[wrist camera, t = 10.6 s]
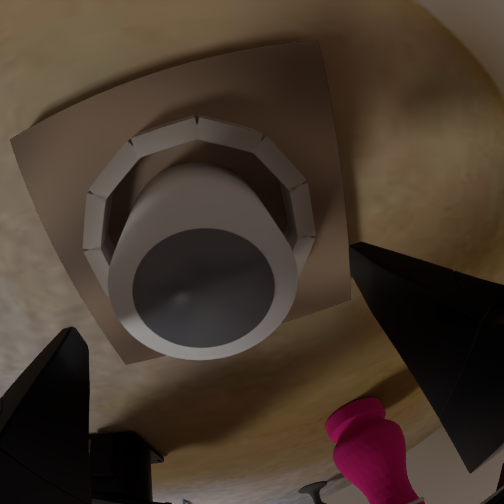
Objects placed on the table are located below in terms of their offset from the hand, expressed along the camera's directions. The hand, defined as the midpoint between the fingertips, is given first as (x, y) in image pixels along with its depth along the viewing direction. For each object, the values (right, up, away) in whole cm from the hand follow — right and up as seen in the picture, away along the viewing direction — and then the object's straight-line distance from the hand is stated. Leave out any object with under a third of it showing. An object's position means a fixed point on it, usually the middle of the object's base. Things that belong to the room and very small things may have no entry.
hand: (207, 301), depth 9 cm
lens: (-1, +2, +5) cm, 6 cm away
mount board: (-1, +3, +6) cm, 7 cm away
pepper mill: (+12, -15, +19) cm, 27 cm away
